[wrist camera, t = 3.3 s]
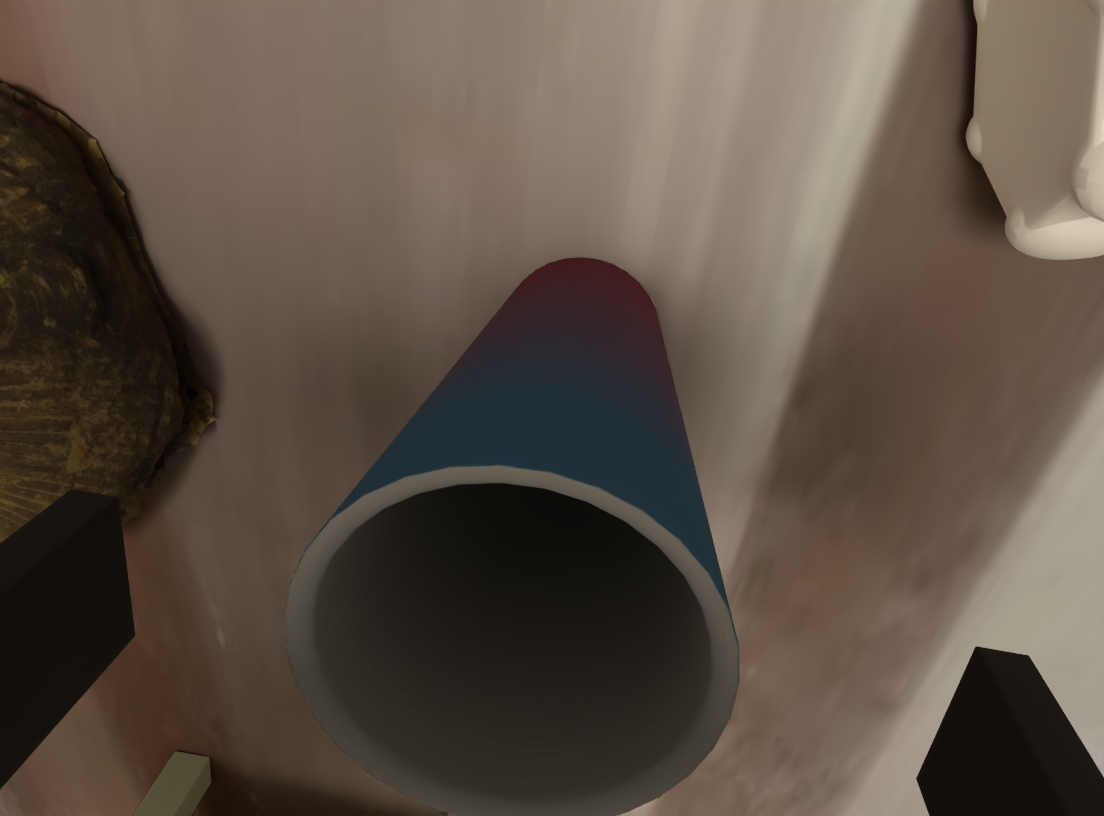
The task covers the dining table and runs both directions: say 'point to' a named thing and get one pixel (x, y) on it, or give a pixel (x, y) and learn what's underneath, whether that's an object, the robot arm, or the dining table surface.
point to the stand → (179, 787)
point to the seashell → (80, 329)
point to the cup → (527, 574)
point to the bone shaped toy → (1042, 121)
